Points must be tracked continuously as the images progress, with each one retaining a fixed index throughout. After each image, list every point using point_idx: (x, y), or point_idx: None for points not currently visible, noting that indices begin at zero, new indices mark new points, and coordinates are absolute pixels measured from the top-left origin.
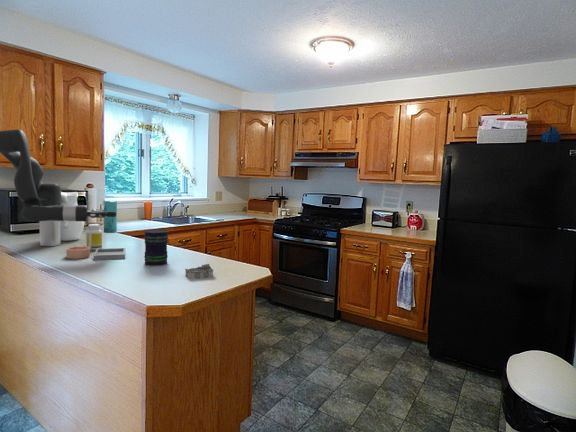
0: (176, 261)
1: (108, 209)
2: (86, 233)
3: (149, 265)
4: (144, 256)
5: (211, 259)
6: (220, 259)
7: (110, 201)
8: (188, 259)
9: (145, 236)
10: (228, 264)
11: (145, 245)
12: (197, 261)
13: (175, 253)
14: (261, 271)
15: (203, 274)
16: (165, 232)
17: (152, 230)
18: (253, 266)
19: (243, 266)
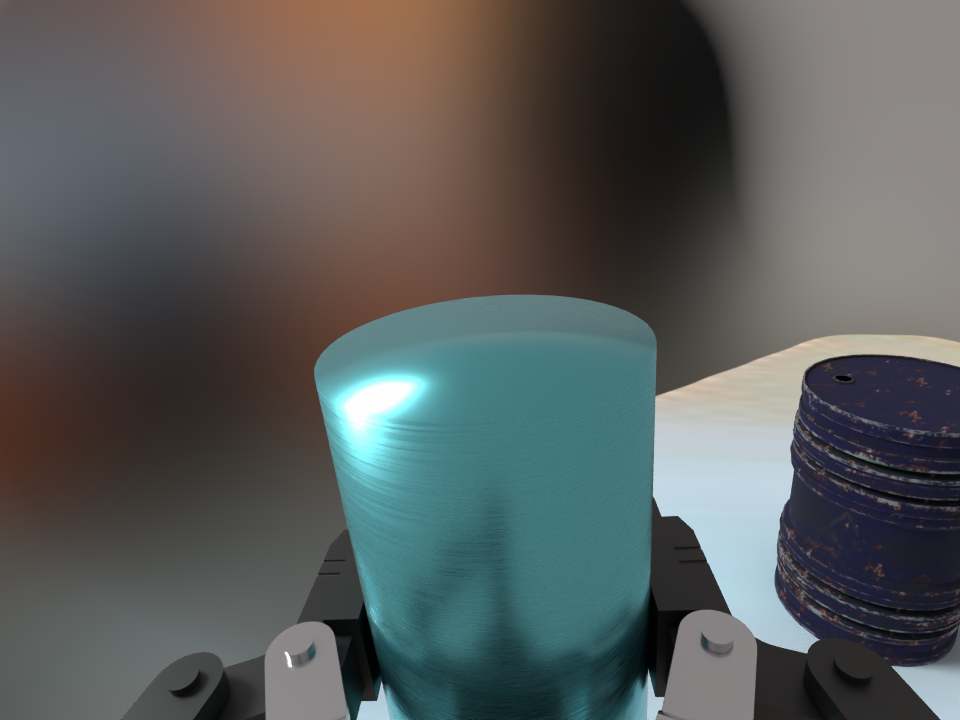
0: (767, 510)
1: (651, 538)
2: None
3: (956, 635)
4: (927, 621)
5: (696, 411)
6: (693, 393)
7: (558, 334)
8: (705, 469)
9: (929, 478)
10: (789, 383)
11: (952, 540)
12: (749, 446)
13: None
14: (878, 340)
15: None
16: (920, 363)
17: (868, 406)
18: (804, 346)
19: (813, 360)
